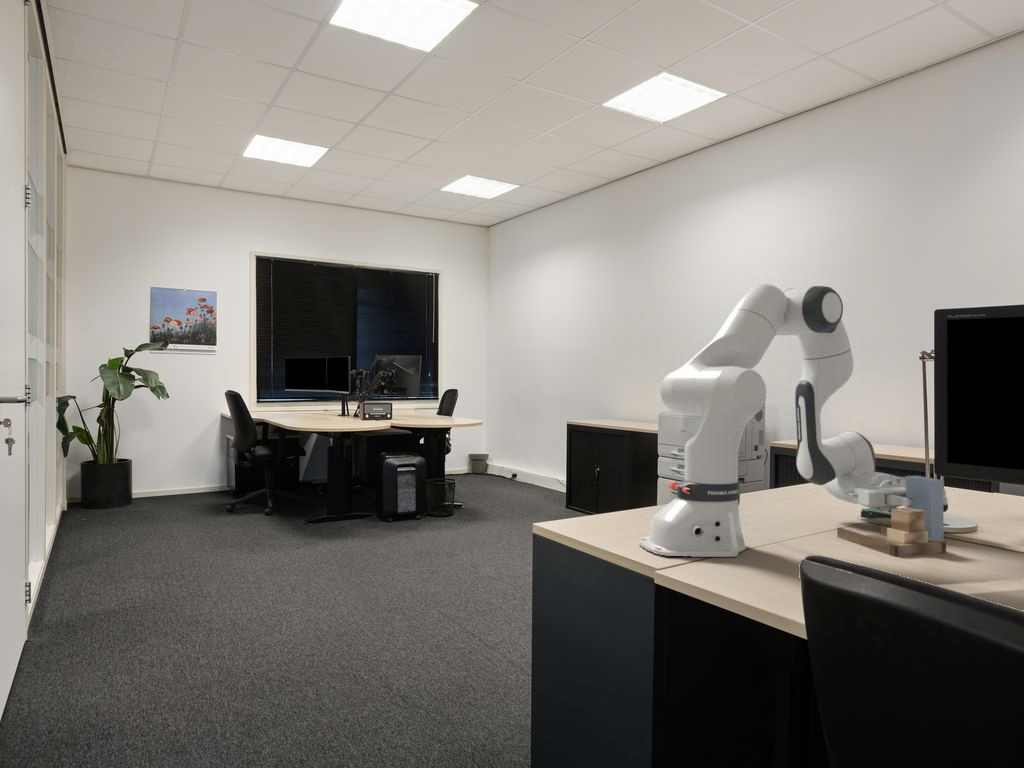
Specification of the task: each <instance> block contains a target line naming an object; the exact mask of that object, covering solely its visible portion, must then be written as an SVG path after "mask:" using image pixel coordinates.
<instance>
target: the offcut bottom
mask: <svg viewBox="0 0 1024 768" xmlns="http://www.w3.org/2000/svg"><path fill="white" fill-rule="evenodd" d="M887 542H888V543H891V544H911V543H927V542H928V532H927V531H918V532H910V533H908V532H904V531H899V530H895V529H891V528H887Z"/></svg>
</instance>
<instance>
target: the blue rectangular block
mask: <svg viewBox="0 0 1024 768" xmlns="http://www.w3.org/2000/svg"><path fill="white" fill-rule="evenodd" d="M904 477H905V497H909V498H912V499H913V506H907V507H906V506H904V508H912V509H917V510H922V511H925V531H927V532H928V538H931V539H934V540H938V541H941V542H944V505H943V488H944V480H943V479H938V478H931V477H926V476H922V475H905V476H904Z"/></svg>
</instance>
